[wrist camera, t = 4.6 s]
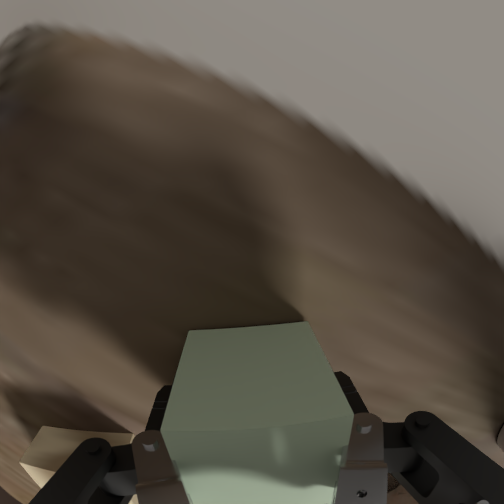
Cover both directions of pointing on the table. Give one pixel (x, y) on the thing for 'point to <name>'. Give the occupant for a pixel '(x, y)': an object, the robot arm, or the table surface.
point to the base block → (62, 450)
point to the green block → (256, 417)
